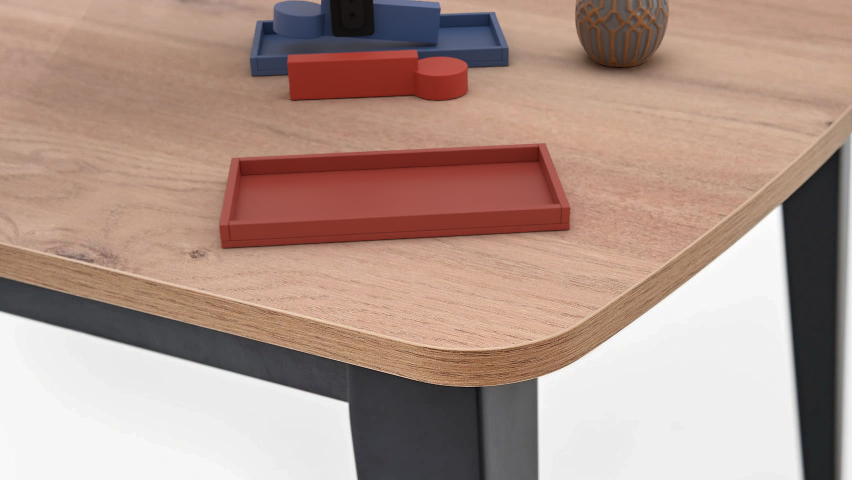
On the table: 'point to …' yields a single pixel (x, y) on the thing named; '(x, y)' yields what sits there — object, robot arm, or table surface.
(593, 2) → the vase
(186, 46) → the table surface
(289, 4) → the blue disc-ended bar
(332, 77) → the red disc-ended bar
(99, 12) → the table surface
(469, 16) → the blue tray
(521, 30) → the table surface
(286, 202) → the red tray
